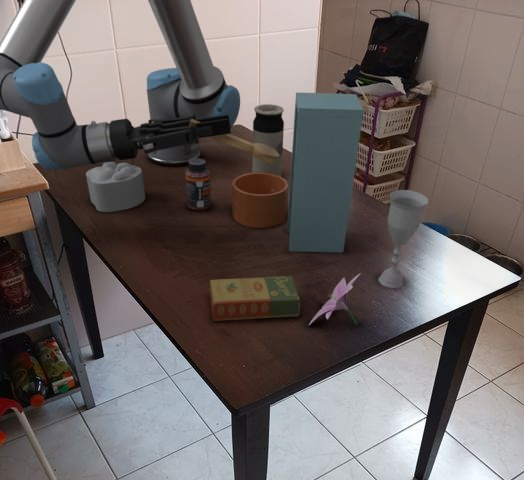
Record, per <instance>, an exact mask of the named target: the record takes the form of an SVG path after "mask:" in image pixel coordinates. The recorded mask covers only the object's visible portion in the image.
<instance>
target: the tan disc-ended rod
mask: <svg viewBox="0 0 524 480" xmlns="http://www.w3.org/2000/svg"><path fill="white" fill-rule="evenodd" d="M196 123H200V122H199V121H196V120H194V119H191V121H190V124H189V126H192V125H194V126H195V127H196ZM209 138H211V139H213V140H216V141H218V142H220V143H223V144H226V145H228V146H231V147H233V148H236V149H239V150H241V151H244V152H246V153H248V154H251V155H252V157H253V156H254V157H256V158H257V159H259V160H261V161H263V162H265V163H268V164H275V163H276V162H277V159H278V157H279V153H278V152H277V151H276V150H274V149H273V148H271V147H269V146H267V145H265V144H262V143H255V144H253V142H251V141H249V140H246V139H244V138H241V137H238V136H236V135H233V134H224V135H217V136H210V137H209Z"/></svg>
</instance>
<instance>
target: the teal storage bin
mask: <svg viewBox="0 0 524 480" xmlns="http://www.w3.org/2000/svg"><path fill="white" fill-rule="evenodd" d="M294 103H295V104H294V117H293V118H294V119H293V132H292V148H291V165H290V179H289V181H290V182H289V193H288V195H289V197H288V208H287V211H288V212H287V227H286V231H287V233H289V236H288V237H289V239H288V252H301V253H302V252H306V253H307V252H308V253H344V251H345V243H346V236H347V231H348V230H347V229H348V221H349V214H350V208H351V201H352V195H353V188H354V180H355V172H356V166H357V158H358V152H359V145H360V137H361V131H362V123H363V118H364V110H365V109H364V107H363V105H362V104H361V101H360V99H359V97H358V95H357V93H328V92H325V93H323V92H295V100H294Z"/></svg>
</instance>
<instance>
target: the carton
mask: <svg viewBox="0 0 524 480" xmlns="http://www.w3.org/2000/svg"><path fill="white" fill-rule="evenodd" d="M209 294H210V295H209V297H210V302H211V311H212V312H211V313H212V321H214V322H216V321H232V320H233V321H234V320H251V319H252V320H253V319H269V318H270V319H272V318H296V317H299V316H300V313H301V299H300V296H299V294H298V291H297V287H296V285H295V282H294V278H293V276H292V275H283V276H282V275H281V276H265V277H242V278H225V279H224V278H221V279H210V280H209Z"/></svg>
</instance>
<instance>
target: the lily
mask: <svg viewBox="0 0 524 480" xmlns="http://www.w3.org/2000/svg"><path fill="white" fill-rule="evenodd" d="M361 274H362V273H361V272H360V273H358V274H357V275H355V276H354V277H353V278H352V279H351V280H350V281H348V283H347V282H346V278H345V277H343V278H342V279H341V280H340V281H339V282H338V284H336V286H335V287H334V289H333V291H332V293H331V292H330V293H328V296H329V298H330V299H328V300H327V301H326V302H325V303H324V304H323V305H322V307H321V309H320V310H318V311H317V312H316V314H315V315H314V316H313V317H312V319H311V320H310V322H309V324H308V326H310V325H311V324H313V322H314V321H315V320H316V319H317V318H319V317H320V316H321V315H323V314H325V313H326V314H325V318H326V320H329V319H330V316H331V315H332V313H333V311H340V310H345V311H347V313H348V314H349V315H350V317H351V319H352V321H353V322H354V324H355V326H357V325H358V323H357V321H356V319H355V317H354V316H353V313H352V312H351V311H350V310H349V308H348V306H347V299H348V293H349V291H351V290H352V289H353V288H354V285H353V284H354V282H355V281H356V280H357V278H359V276H360V275H361Z"/></svg>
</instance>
